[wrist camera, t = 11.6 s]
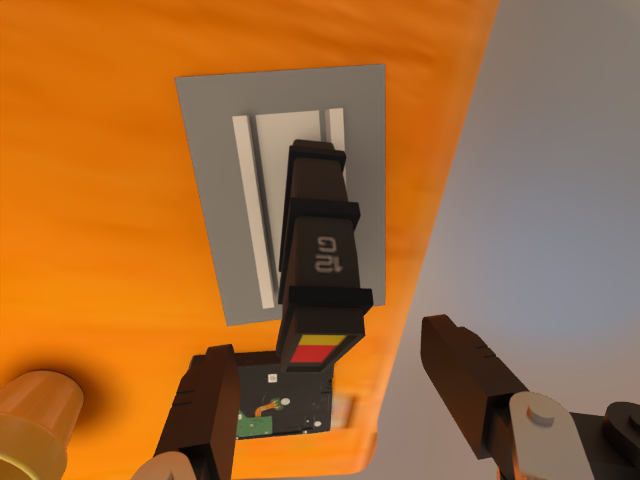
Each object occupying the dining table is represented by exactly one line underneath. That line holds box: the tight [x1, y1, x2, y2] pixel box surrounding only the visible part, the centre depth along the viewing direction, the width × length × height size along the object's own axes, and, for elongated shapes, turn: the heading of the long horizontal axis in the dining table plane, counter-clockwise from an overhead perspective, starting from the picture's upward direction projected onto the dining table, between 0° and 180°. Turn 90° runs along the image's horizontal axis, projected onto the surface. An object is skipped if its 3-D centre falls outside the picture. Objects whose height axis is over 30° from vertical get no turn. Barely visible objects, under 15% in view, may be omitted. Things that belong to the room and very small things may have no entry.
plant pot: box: [0, 370, 84, 480], centre depth 29 cm, size 10×10×10 cm
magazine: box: [276, 139, 374, 373], centre depth 23 cm, size 4×13×15 cm
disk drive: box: [188, 351, 334, 440], centre depth 36 cm, size 10×3×15 cm
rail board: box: [174, 64, 385, 326], centre depth 28 cm, size 22×16×4 cm
